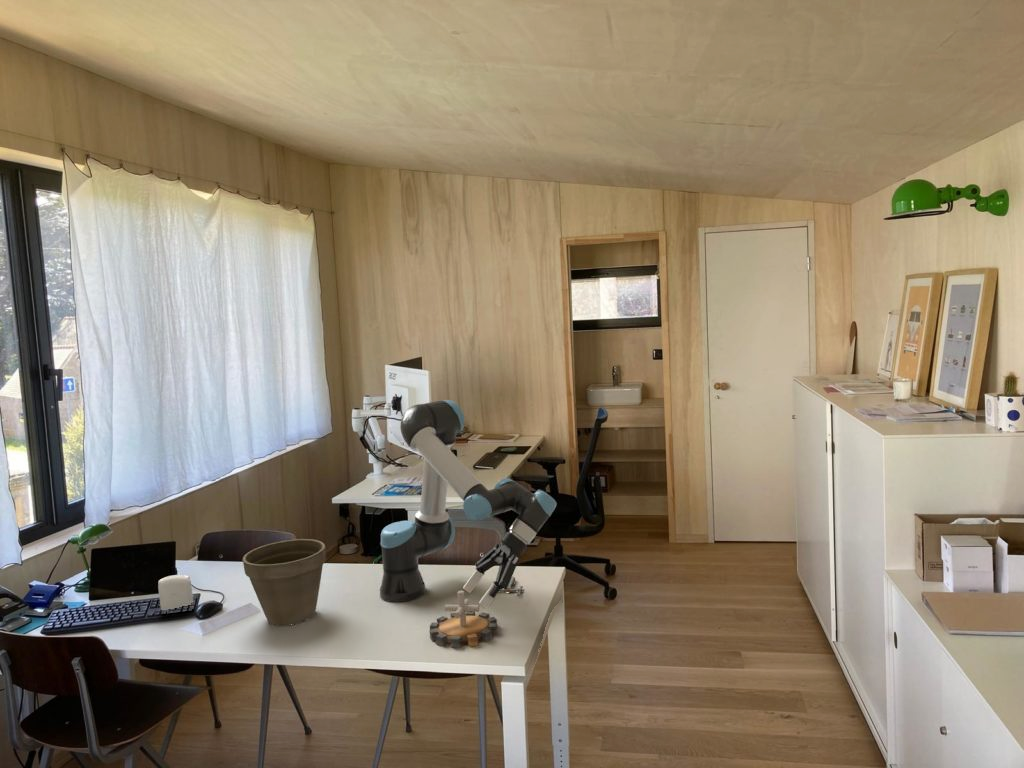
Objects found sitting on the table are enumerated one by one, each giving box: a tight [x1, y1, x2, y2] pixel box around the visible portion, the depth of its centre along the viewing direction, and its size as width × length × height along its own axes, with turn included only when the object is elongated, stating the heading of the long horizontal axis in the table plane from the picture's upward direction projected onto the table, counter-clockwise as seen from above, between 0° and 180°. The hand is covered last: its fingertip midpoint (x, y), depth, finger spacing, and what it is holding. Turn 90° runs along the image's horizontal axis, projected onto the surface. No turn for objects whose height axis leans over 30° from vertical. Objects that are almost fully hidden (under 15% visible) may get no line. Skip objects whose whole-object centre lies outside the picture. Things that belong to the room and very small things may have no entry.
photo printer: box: [157, 574, 194, 611], centre depth 253 cm, size 10×4×12 cm, turn 100°
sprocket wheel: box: [429, 612, 499, 649], centre depth 222 cm, size 20×20×2 cm
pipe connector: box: [444, 590, 480, 626], centre depth 222 cm, size 10×10×10 cm
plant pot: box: [242, 538, 327, 627], centre depth 242 cm, size 25×25×22 cm
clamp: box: [499, 575, 524, 597], centre depth 255 cm, size 15×2×10 cm
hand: (474, 597), depth 222 cm, fingers open, 13 cm apart
